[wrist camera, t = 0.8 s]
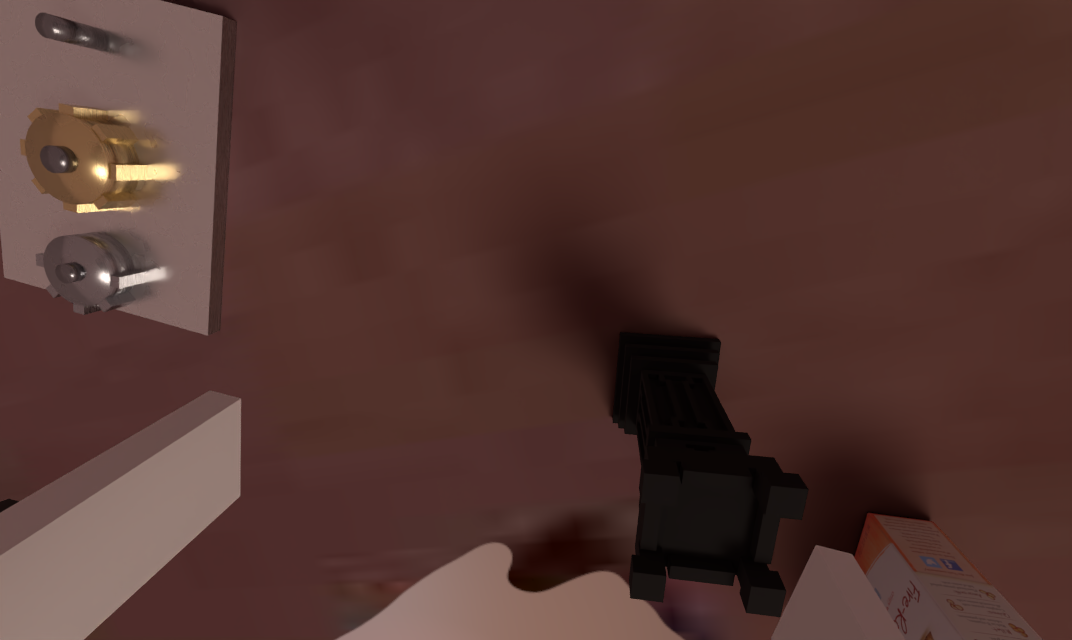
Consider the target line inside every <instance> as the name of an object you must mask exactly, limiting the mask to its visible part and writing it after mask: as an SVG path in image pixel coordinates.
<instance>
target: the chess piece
mask: <svg viewBox="0 0 1072 640" xmlns="http://www.w3.org/2000/svg"><path fill="white" fill-rule="evenodd" d="M720 346H721V342H720V340H719V339H709V338H695V337H681V336H666V335H652V334H638V333H624V332H620V340H619V352H618V363H617V375H616V386H615V398H614V409H613V423H618V427H619V428H624V432H625V434H633V435H637V438H638V446H639V453H640V460H641V475H640V484H639V491H640V500H639V516H638V525H637V534H636V543H635V552H636V555H632V558H631V567H630V576H629V585H630V598H633V599H640V600H648V601H656V602H663V598H664V591H665V583H666V570H665V567H667V570H668V576H669V578H671V579H679V580H687V581H696V582H704V583H712V584H720V585H729V586H733V582H734V577H735V575H737V577H738V580H739V583H740V586H741V589H740V595H741V599H742V602H743V605H744V608H745V611H746V613H752V614H760V615H768V616H776V617H780V616H781V612H782V607H783V603H784V598H785V594H786V589H785V587H784V585H783V582H782V580H781V578H780V576H779V573H778V572H777V571H769V568H768V566H767V564H771V561H772V556H773V551H774V546H775V541H776V536H777V531H778V527H779V522H780V518H789V519H798V520H802V517H803V512H804V508H805V503H806V499H807V494H808V488H807V487H806V485H805V483H804V482H803V480H802V479H801V477H800V476H799V474H792V473H783V472H782V470H781V468H780V467H779V465H778V463H777V462H776V460H775V458H772V457H761V456H751V455H749V450H750V444H751V439H750V437H749V435H748V433H743V432H735V430H734V428H733V426H732V424H731V422H730V420H729V418H728V416H727V414H726V412H725V410H724V409H723V407H722V405H721V403H720V401H719V399H718V397H717V395H716V393H715V391H714V390H715V384H716V377H717V370H718V361H719V355H720Z"/></svg>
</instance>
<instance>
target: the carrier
mask: <svg viewBox="0 0 1072 640" xmlns="http://www.w3.org/2000/svg"><path fill="white" fill-rule="evenodd" d="M236 23H237V22H236V21H233V20H231V19H229V18H226V17H224V16H220V15H216V14H212V13H208V12H205V11H201V10H197V9H193V8H189V7H185V6H181V5H177V4H173V3H169V2H165V1H161V0H0V233H1V245H2V256H3V268H4V277H5V278H8V279H12V280H15V281H19V282H22V283H26V284H29V285H33V286H36V287H40V288H43V289H47V290H48V291H49V293H50V294H51V295H52V296H53V298H55V297H60V296H62V297H63V298H65V299H66V300H68V301H69V302H71V303H73V307H74V312H76V313H80V314H83V315H85V314H89V313H92V312H96V311H100V310H102V311H103V312H106V311H110V310H113V309H117V310H120V311H124V312H127V313H131V314H134V315H138V316H141V317H145V318H148V319H152V320H155V321H159V322H162V323H166V324H169V325H173V326H176V327H180V328H183V329H187V330H190V331H194V332H197V333H201V334H204V335H210V334H213V333H215V332H217V331H220V318H221V299H222V281H223V262H224V244H225V225H226V207H227V189H228V170H229V152H230V133H231V115H232V96H233V78H234V60H235V41H236Z"/></svg>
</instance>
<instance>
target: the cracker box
mask: <svg viewBox="0 0 1072 640" xmlns="http://www.w3.org/2000/svg"><path fill="white" fill-rule="evenodd" d="M854 558H855V560H856V561H857V563H858V564H859V566H860V568H861V569H862V571H863V572H864V574H865V576H866V577H867V579H868V580H869V582H870V584H871V585H872V587H873V588H874V590H875V592H876V593H877V595H878V597H879V598H880V600H881V601H882V603H883V605H884V606H885V608H886V609H887V611H888V613H889V614H890V616H891V617H892V619H893V621H894V622H895V624H896V626H897V627H898V629H899V630H900V632H901V634H902V635H903V637H904V638H905V640H1042V638H1041V637H1040V636H1039V635H1038V634H1037V633H1036V632H1035V631H1034V630H1033V629H1032V628H1031V627H1030V626H1029V624H1028V623H1027V622H1026V621H1025V620H1024V619H1023V618H1022V617H1021V616H1020V615H1019V614H1018V612H1017V611H1016V610H1015V609H1014V608H1013V607H1012V606H1011V605H1010V604H1009V603H1008V602H1007V600H1006V599H1005V598H1004V597H1003V596H1002V595H1001V594H1000V593H999V592H998V591H997V590H996V589H995V588H994V587H993V585H992V584H991V583H990V582H989V581H988V580H987V579H986V578H985V577H984V576H983V575H982V574H981V572H980V571H979V570H978V569H977V568H976V567H975V566H974V565H973V564H972V563H971V562H970V560H969V559H968V558H967V557H966V556H965V555H964V554H963V553H962V552H961V551H960V550H959V549H958V548H957V546H956V545H955V544H954V543H953V542H952V541H951V540H950V539H949V538H948V537H947V536H946V534H945V533H944V532H943V531H942V530H941V529H940V528H939V527H938V526H937V525H936V524H935V523H934V522H932V521H926V520H919V519H911V518H904V517H896V516H889V515H881V514H874V513H867V517H866V520H865V524H864V527H863V530H862V534H861V537H860V540H859V543H858V547H857V550H856V553H855V556H854Z"/></svg>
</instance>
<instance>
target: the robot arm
mask: <svg viewBox="0 0 1072 640" xmlns="http://www.w3.org/2000/svg"><path fill="white" fill-rule="evenodd" d="M240 454H241V398H237V397H233V396H229V395H225V394H221V393H217V392H213V391H208V392H207V393H205V394H203V395H202V396H200V397H198V398H196V399H195V400H193V401H191V402H190V403H188V404H186V405H184V406H183V407H181V408H179V409H178V410H176V411H174V412H172V413H171V414H169V415H167V416H166V417H164V418H162V419H160V420H159V421H157V422H155V423H154V424H152V425H150V426H148V427H147V428H145V429H143V430H141V431H140V432H138V433H136V434H135V435H133V436H131V437H129V438H128V439H126V440H124V441H123V442H121V443H119V444H117V445H116V446H114V447H112V448H111V449H109V450H107V451H105V452H104V453H102V454H100V455H99V456H97V457H95V458H93V459H92V460H90V461H88V462H86V463H85V464H83V465H81V466H80V467H78V468H76V469H74V470H73V471H71V472H69V473H68V474H66V475H64V476H62V477H61V478H59V479H57V480H56V481H54V482H52V483H50V484H49V485H47V486H45V487H44V488H42V489H40V490H38V491H37V492H35V493H33V494H32V495H30V496H28V497H26V498H25V499H23V500H21V501H15V500H11V499H7V500H4V501H1V502H0V640H84V639H85V638H86V637H87V636H88V635H89V634H90V633H91V632H92V631H94V630H95V629H96V628H97V627H98V626H99V625H100V624H101V623H102V622H103V621H104V620H106V619H107V618H108V617H109V616H110V615H111V614H112V613H113V612H114V611H115V610H116V609H118V608H119V607H120V606H121V605H122V604H123V603H124V602H125V601H126V600H127V599H128V598H130V597H131V596H132V595H133V594H134V593H135V592H136V591H137V590H138V589H139V588H140V587H142V586H143V585H144V584H145V583H146V582H147V581H148V580H149V579H150V578H151V577H152V576H154V575H155V574H156V573H157V572H158V571H159V570H160V569H161V568H162V567H163V566H164V565H166V564H167V563H168V562H169V561H170V560H171V559H172V558H173V557H174V556H175V555H176V554H178V553H179V552H180V551H181V550H182V549H183V548H184V547H185V546H186V545H187V544H188V543H190V542H191V541H192V540H193V539H194V538H195V537H196V536H197V535H198V534H199V533H200V532H201V531H203V530H204V529H205V528H206V527H207V526H208V525H209V524H210V523H211V522H212V521H213V520H215V519H216V518H217V517H218V516H219V515H220V514H221V513H222V512H223V511H224V510H225V509H227V508H228V507H229V506H230V505H231V504H232V503H233V502H234V501H235V500H236V499H237V498H239V497H240ZM771 640H905V638H904V637H903V635H902V634H901V632H900V630H899V629H898V627H897V626H896V624H895V622H894V621H893V619H892V617H891V616H890V614H889V613H888V611H887V609H886V608H885V606H884V605H883V603H882V601H881V600H880V598H879V597H878V595H877V593H876V592H875V590H874V588H873V587H872V585H871V584H870V582H869V580H868V579H867V577H866V576H865V574H864V572H863V571H862V569H861V568H860V566H859V564H858V563H857V561H856V560H855V558H854V556H853V555H852V554H850V553H846V552H842V551H838V550H834V549H830V548H826V547H822V546H818V545H815V548H814V550H813V552H812V554H811V556H810V558H809V560H808V562H807V564H806V566H805V568H804V570H803V573H802V575H801V577H800V579H799V581H798V583H797V585H796V587H795V589H794V591H793V593H792V596H791V598H790V600H789V602H788V604H787V606H786V608H785V610H784V612H783V614H782V616H781V619H780V621H779V623H778V625H777V627H776V629H775V631H774V633H773V635H772V637H771Z"/></svg>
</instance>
